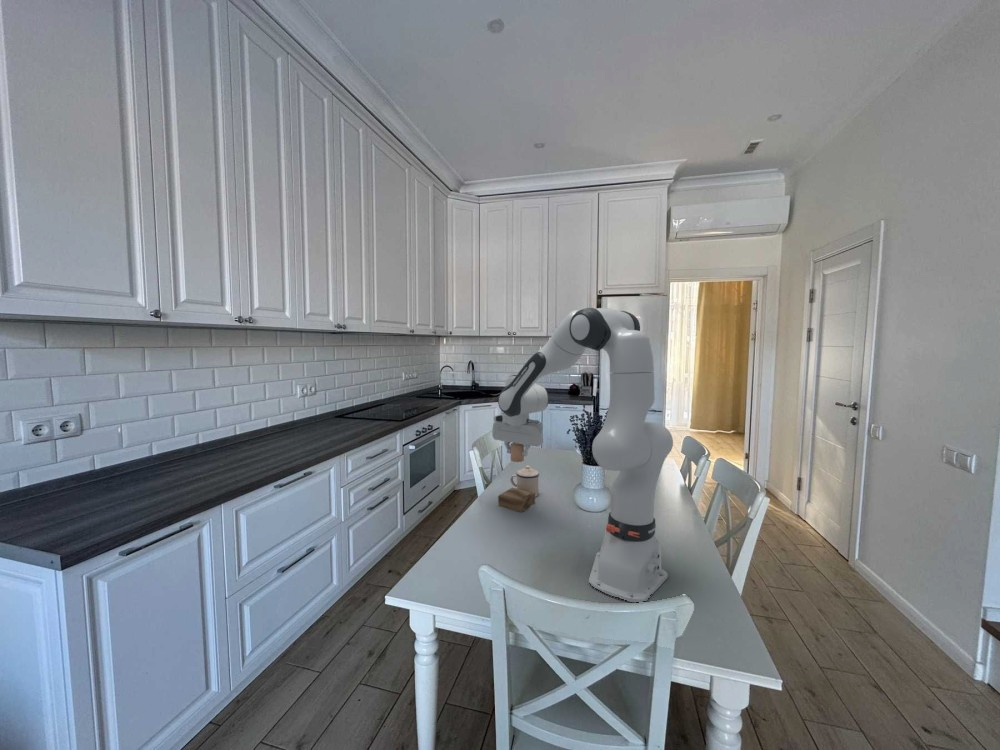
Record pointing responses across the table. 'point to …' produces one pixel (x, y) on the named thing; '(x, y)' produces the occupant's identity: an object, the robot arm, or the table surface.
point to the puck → (517, 452)
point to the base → (516, 499)
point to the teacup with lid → (526, 480)
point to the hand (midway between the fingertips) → (517, 454)
